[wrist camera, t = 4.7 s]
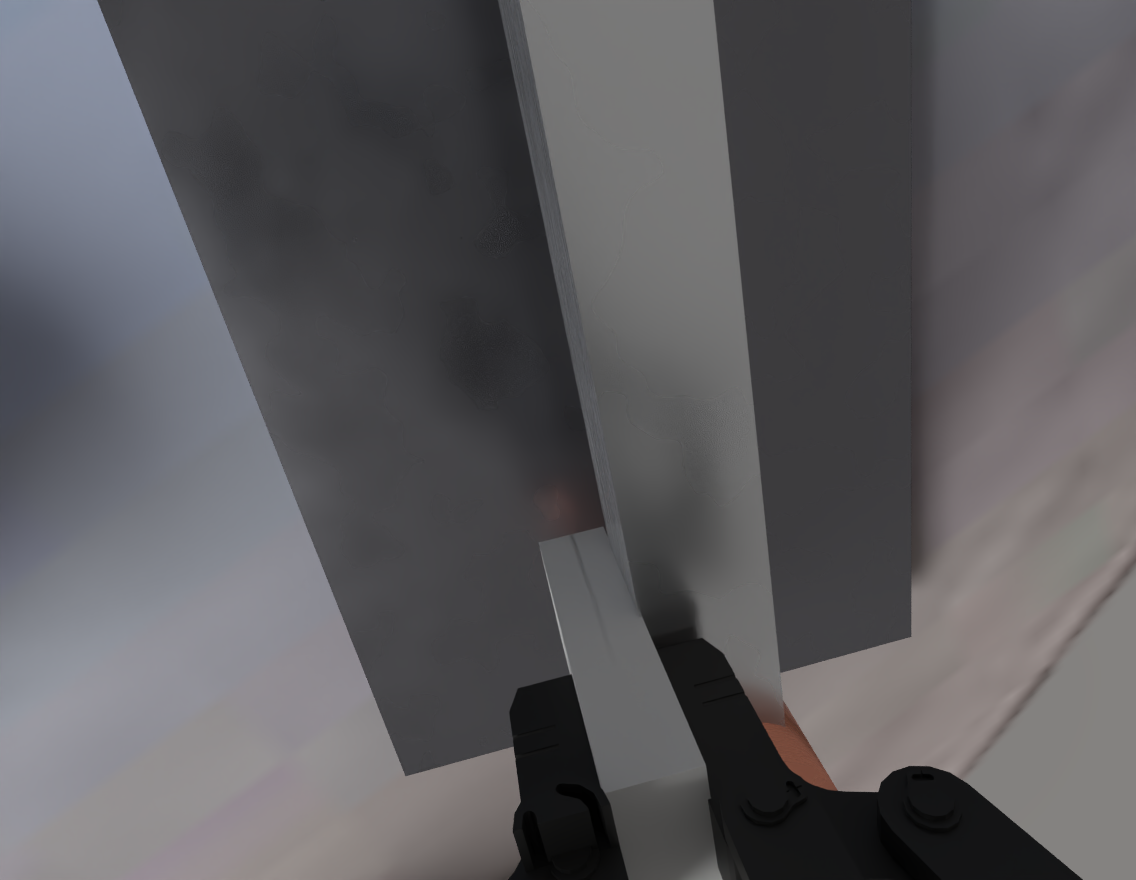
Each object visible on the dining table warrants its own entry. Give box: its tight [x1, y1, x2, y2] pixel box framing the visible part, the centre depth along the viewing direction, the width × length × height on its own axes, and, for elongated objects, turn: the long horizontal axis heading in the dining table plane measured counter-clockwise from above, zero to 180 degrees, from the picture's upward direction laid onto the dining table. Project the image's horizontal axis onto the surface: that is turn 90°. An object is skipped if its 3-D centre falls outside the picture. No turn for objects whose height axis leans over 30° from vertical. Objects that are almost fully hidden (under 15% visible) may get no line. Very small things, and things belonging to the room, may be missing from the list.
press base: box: [97, 0, 911, 776], centre depth 15 cm, size 30×16×6 cm, turn 11°
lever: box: [498, 0, 838, 791], centre depth 11 cm, size 28×6×4 cm, turn 11°
